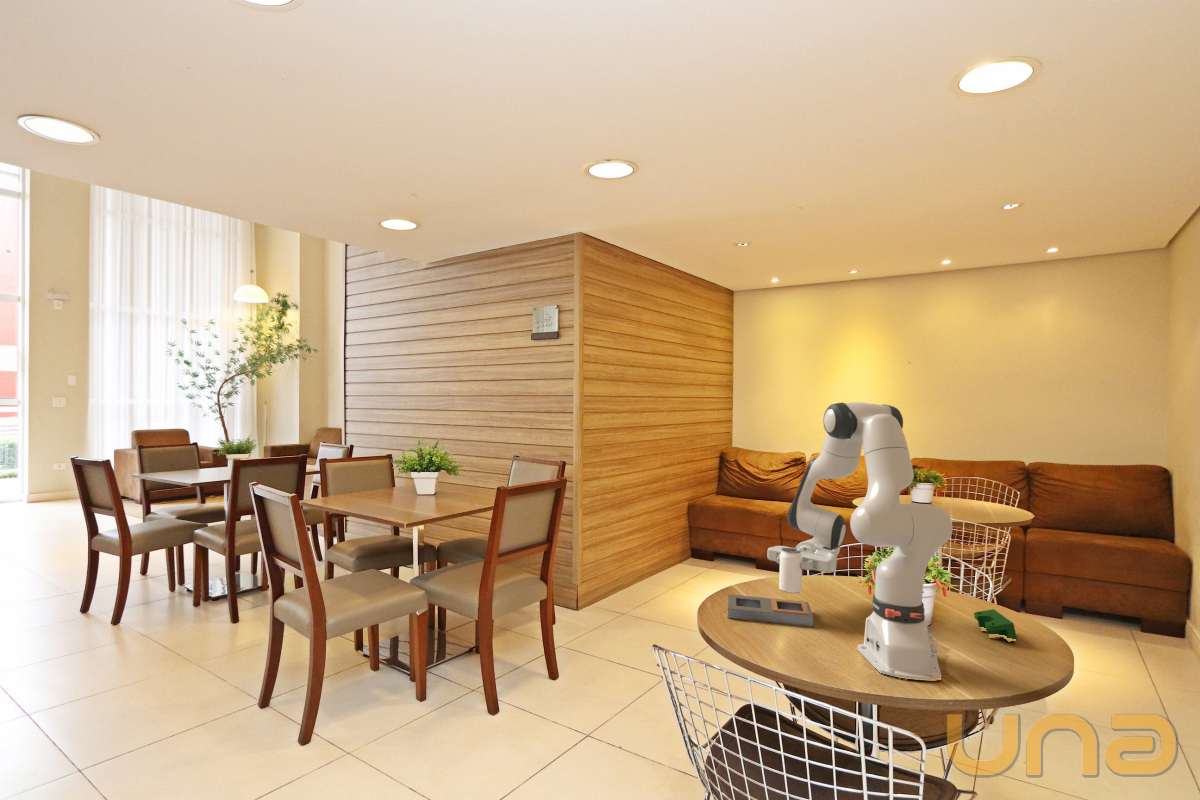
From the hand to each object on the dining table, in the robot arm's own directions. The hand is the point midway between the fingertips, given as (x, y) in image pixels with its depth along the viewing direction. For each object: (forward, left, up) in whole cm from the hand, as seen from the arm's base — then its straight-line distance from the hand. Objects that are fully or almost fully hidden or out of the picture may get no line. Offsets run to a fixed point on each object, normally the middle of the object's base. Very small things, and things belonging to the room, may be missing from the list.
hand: (789, 563), depth 184 cm
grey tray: (+1, +6, -16) cm, 17 cm away
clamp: (+3, -56, -17) cm, 59 cm away
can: (+1, 0, -8) cm, 9 cm away
